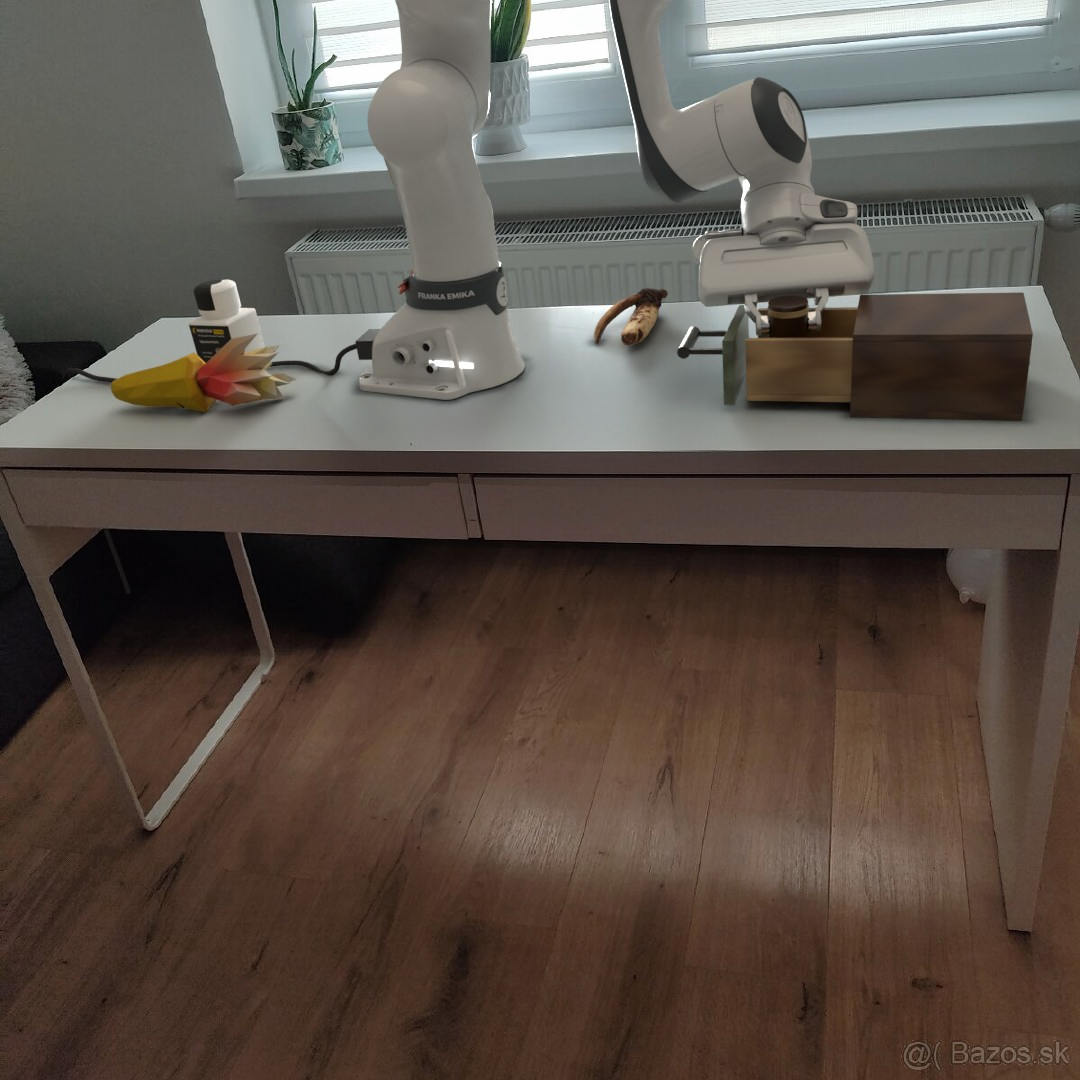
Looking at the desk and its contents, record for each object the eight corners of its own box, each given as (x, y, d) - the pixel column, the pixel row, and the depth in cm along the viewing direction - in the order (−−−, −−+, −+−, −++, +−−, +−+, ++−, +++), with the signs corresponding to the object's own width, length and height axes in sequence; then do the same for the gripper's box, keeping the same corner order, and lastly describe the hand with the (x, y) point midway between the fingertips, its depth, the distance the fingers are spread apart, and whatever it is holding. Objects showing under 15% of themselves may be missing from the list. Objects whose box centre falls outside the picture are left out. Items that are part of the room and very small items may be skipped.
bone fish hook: (611, 315, 160) (584, 355, 145) (608, 284, 157) (580, 322, 142) (673, 311, 157) (651, 352, 142) (670, 280, 155) (648, 318, 140)
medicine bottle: (200, 368, 158) (177, 289, 152) (229, 351, 163) (208, 274, 157) (239, 370, 155) (217, 290, 149) (267, 353, 161) (248, 275, 155)
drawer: (674, 404, 124) (671, 340, 121) (693, 365, 135) (691, 305, 131) (873, 407, 117) (876, 340, 114) (878, 366, 128) (881, 303, 124)
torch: (136, 432, 148) (301, 399, 143) (102, 428, 141) (275, 393, 135) (127, 373, 148) (291, 338, 143) (92, 366, 140) (265, 329, 135)
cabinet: (849, 417, 118) (852, 334, 113) (856, 371, 129) (859, 294, 125) (1022, 420, 113) (1033, 334, 108) (1014, 372, 124) (1023, 292, 119)
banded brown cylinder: (765, 372, 125) (765, 308, 121) (770, 358, 129) (770, 295, 125) (806, 372, 124) (806, 307, 120) (809, 358, 127) (810, 294, 124)
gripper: (691, 219, 125) (698, 326, 122) (870, 202, 123) (882, 311, 119) (691, 246, 131) (698, 349, 128) (862, 231, 129) (873, 336, 125)
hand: (788, 331), depth 124 cm, fingers closed on banded brown cylinder, 4 cm apart
